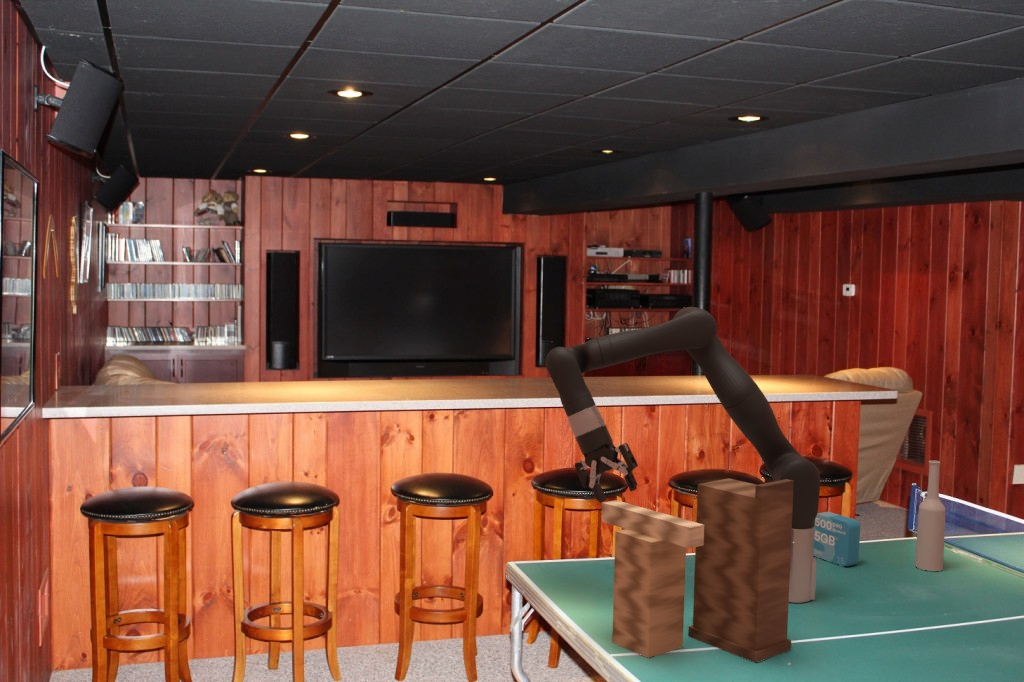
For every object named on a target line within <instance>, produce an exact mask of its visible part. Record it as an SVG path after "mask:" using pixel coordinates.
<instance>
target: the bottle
mask: <svg viewBox="0 0 1024 682" xmlns="http://www.w3.org/2000/svg"><path fill="white" fill-rule="evenodd" d="M928 463H929V466H928V468H929V470H928V471H929V472H928V482H927V483H928V485H927V491H926V497H925V499H924V500H922V502H920V504H919V505H918V515H917V517H918V518H917V533H916V548H915V549H916V550H915V565H914V566H916V567H917V568H919V569H918V570H920V569H923V570H929V571H940V570H942V571H944V554H945V553H944V552H945V532H946V529H945V528H946V511H947V510H946V507H945V505H944V503H943V502H942V501H941V498H940V490H939V489H940V486H939V485H940V483H939V482H940V481H939V480H940V466H941V465H940V464H941V462H940V461H939V460H934V459H933V460H928ZM916 567H915V568H916ZM917 568H916V569H917ZM923 570H922V571H923Z"/></svg>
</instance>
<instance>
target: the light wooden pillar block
mask: <svg viewBox="0 0 1024 682" xmlns="http://www.w3.org/2000/svg"><path fill="white" fill-rule="evenodd" d="M614 534H615V535H614V565H613V566H614V568H613V569H614V571H613V572H614V573H613V601H612V603H613V606H612V633H611V634H612V638H611V639H612V641H611V642H612V643H613V644H615V645H618V646H619V647H622V648H624V649H626V650H628V649H629V650H628V651H631V652H633V653H635V652H636V654H637V653H638V655H640V654H641V655H640V656H642V655H643V657H644V656H646V657H645V658H647V657H651V658H652V656H654V657H656V656H659V655H662V654H666V653H669V652H671V651H674V650H678V649H679V648H683V646H684V621H685V619H684V617H685V616H684V615H685V593H686V591H685V590H686V564H687V563H686V561H687V560H686V559H687V557H686V556H687V548H686V547H683V546H680V545H676V544H673V543H670V542H667V541H663V540H660V539H657V538H654V537H650V536H647V535H644V534H641V533H637V532H634V531H631V530H628V529H624V528H622V529H619V530H615V533H614Z"/></svg>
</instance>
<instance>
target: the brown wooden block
mask: <svg viewBox="0 0 1024 682" xmlns="http://www.w3.org/2000/svg"><path fill="white" fill-rule="evenodd" d="M601 522H603V523H605V524H608V525H611V526H615V527H618V528H622V529H628V530H631V531H634V532H637V533H641V534H644V535H647V536H650V537H654V538H657V539H660V540H663V541H667V542H670V543H673V544H676V545H680V546H683V547H686V549H689V550H690V549H694V548H696V547H698V546H702V545H704V525H703V524H700V523H696V522H695V521H692V520H688V519H685V518H682V517H677V516H674V515H671V514H668V513H667V514H666V513H663V512H660V511H656V510H654V509H649V508H645V507H642V506H638V505H634V504H631V503H627V502H624V501H621V500H616V499H615V500H610V501H604V502H601Z"/></svg>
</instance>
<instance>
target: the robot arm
mask: <svg viewBox="0 0 1024 682" xmlns="http://www.w3.org/2000/svg"><path fill="white" fill-rule="evenodd" d="M674 314H675V315H674V316H673V317H672V319H670V320H668V321H664V322H663V323H660V324H656V325H653V326H647V327H644V328H638V329H631V330H625V331H620V332H614V333H610V334H607V335H602V336H600V337H599V336H598V337H595V338H592V339H589V340H587V341H585V342H584V343H580V344H576V345H573V346H572V345H571V346H568V347H564V346H557V347H554V348H552V349H551V350H550V351H549V352H548V353H547V355H546V357H545V362H544V363H545V369H546V371H547V373H548V374H549V376H550V378H551V380H552V382H553V384H554V387H555V388H556V391H557V392H558V395H559V399H560V402H561V405H562V408H563V410H564V412H565V414H566V417H567V419H568V423H569V426H570V429H571V431H572V433H573V436H574V438H575V440H576V442H577V445H578V448H579V449H580V452H581V454H582V456H583V457H584V460H579V461H577V462H575V463H574V469H575V470H576V471H575V472H576V473H577V474H576V475H577V476H578V479H579V481H580V485H581V486H582V488H583V489H586V488H589V489H591V490H592V492H593V494H594V495H593V496H594V498H595V499H596V501H597V502H599V503H601V504H602V503H603V502H607V497H606V495H605V493H604V490H603V488H602V486H601V485H600V479H601V476H602V474H603V473H605V472H609V471H612V470H613V469H614V471H618V472H620V473H621V474H623V475H624V476H623V478H624V480H625V483H626V485H627V486H628V489H629V492H634V491H636V490H637V489H638V488H637V487H638V482H637V480H636V478H635V476H634V472H633V471H634V470H635V469H636V468H638V466H639V464H638V461H637V460H636V458H635V456H634V454H633V452H632V450H631V448H630V446H629V444H628V443H627V442H624V443H621V444H620V445H618V446H617V447H616V446H615V444H614V441H613V438H612V436H611V434H610V432H609V429H608V427H607V425H606V422H605V419H604V418H603V416H602V414H601V412H600V410H599V408H598V407H597V405H596V402H595V400H594V398H593V396H592V392H591V391H590V388H588V385H587V384H586V382H585V379H584V376H583V374H584V373H586V372H590V371H593V370H599V369H603V368H607V367H608V368H609V367H611V366H615V365H618V364H623V363H626V362H629V361H633V360H636V359H640V358H643V357H647V356H651V355H655V354H656V355H657V354H660V353H664V352H670V351H678V350H679V351H680V350H685V351H686V352H687V353H688V354H689V355H690V357H691V358H692V359H693V360H694V361H695V363H696V364H697V365H698V366H699V368H700V369H701V371H702V373H703V374H704V376H705V378H706V380H707V382H708V385H709V386H710V387H711V389H712V391H713V393H714V395H715V396H716V397H717V399H718V400H719V402H720V404H721V406H722V407H723V409H724V411H726V413H727V414H728V415H729V418H730V419H731V420H732V421H733V423H734V424H735V426H736V427H737V428H738V429H739V430H740V432H741V433H742V435H744V436H745V439H747V440H748V441H749V442H750V444H752V446H753V447H754V448H755V450H756V451H757V453H758V455H759V456H760V458H761V459H762V461H763V464H764V466H765V467H766V468H767V471H768V473H769V475H770V477H771V478H772V482H775V481H780V480H785V479H789V480H793V481H794V486H793V510H792V533H791V557H790V581H789V603H798V604H799V603H800V604H801V603H806V602H809V601H815V600H816V582H817V558H815V557H814V556H813V548H814V526H815V518H816V516H817V513H818V512H819V505H820V493H821V491H820V490H821V475H820V472H819V469H818V468H817V466H816V464H814V463H813V462H812V461H811V460H809V459H808V458H805V457H804V456H803V455H801V454H800V452H798V451H797V449H795V447H794V446H793V444H792V443H791V442H790V440H788V438H787V437H786V436H785V435H784V433H783V431H782V430H781V427H780V426H779V423H778V420H777V418H776V416H775V413H774V411H773V408H772V406H771V404H770V402H769V401H768V399H767V397H766V395H765V394H764V392H763V391H762V390H761V388H760V386H759V385H758V384H757V383H756V382H755V380H754V379H753V377H751V375H750V374H749V373H748V372H747V371H746V370H745V368H744V367H743V366H741V364H739V362H738V361H737V360H736V359H735V358H734V357H733V356H732V355H731V353H729V351H728V350H727V349H726V348H725V346H724V344H723V343H722V341H721V340H720V337H719V336H718V335H717V331H718V324H717V321H716V320H715V318H714V317H713V315H712V314H711V313H710V312H709V311H707V310H706V309H703V308H699V307H696V306H695V307H694V306H688V307H683V308H681V309H680V310H678V311H677V312H676V313H674ZM619 455H621V456H622V458H623V460H622V459H620V458H619V457H618V456H619ZM588 468H590V473H588Z"/></svg>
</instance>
